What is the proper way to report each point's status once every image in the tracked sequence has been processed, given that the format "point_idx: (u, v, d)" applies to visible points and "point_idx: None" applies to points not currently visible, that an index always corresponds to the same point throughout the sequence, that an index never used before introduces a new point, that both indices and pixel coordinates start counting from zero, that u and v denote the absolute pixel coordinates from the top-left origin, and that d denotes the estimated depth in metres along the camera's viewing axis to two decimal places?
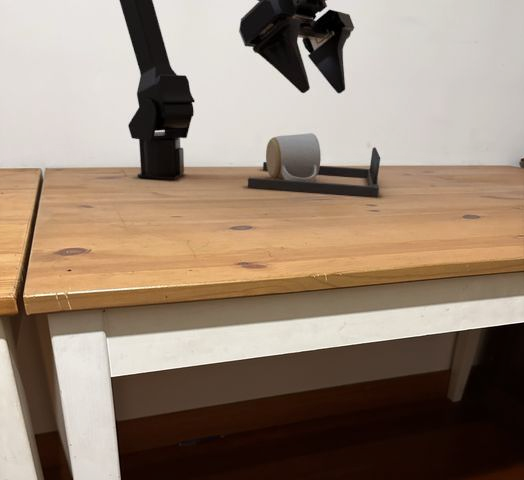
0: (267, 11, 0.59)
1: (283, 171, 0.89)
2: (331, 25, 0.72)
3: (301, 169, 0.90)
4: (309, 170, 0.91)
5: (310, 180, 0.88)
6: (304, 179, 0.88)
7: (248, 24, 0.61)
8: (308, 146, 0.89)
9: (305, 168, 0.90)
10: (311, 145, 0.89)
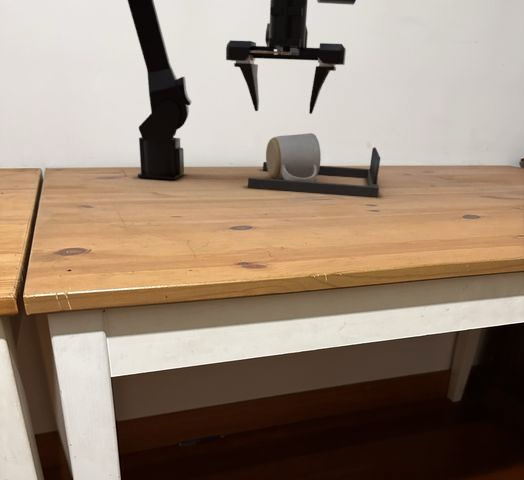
0: None
1: (283, 171, 0.89)
2: None
3: (301, 169, 0.90)
4: (309, 170, 0.91)
5: (310, 180, 0.88)
6: (304, 179, 0.88)
7: (344, 54, 0.81)
8: (308, 146, 0.89)
9: (305, 168, 0.90)
10: (311, 145, 0.89)
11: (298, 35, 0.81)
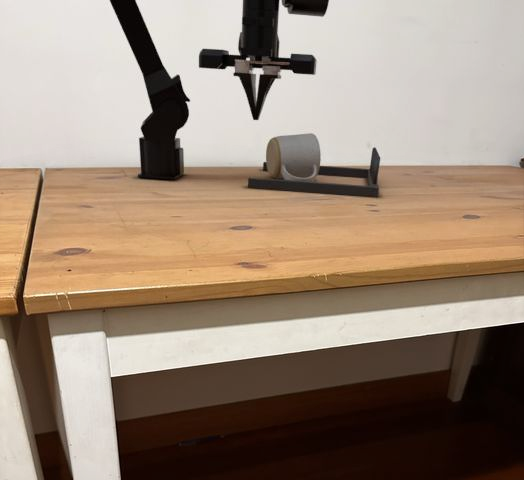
0: (315, 68, 0.86)
1: (283, 171, 0.89)
2: None
3: (301, 169, 0.90)
4: (309, 170, 0.91)
5: (310, 180, 0.88)
6: (304, 179, 0.88)
7: (315, 64, 0.83)
8: (308, 146, 0.89)
9: (305, 168, 0.90)
10: (311, 145, 0.89)
11: (270, 45, 0.82)
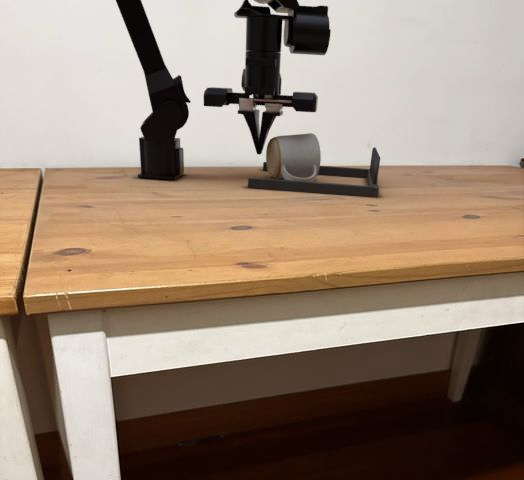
0: None
1: (283, 171, 0.89)
2: None
3: (301, 169, 0.90)
4: (309, 170, 0.91)
5: (310, 180, 0.88)
6: (304, 179, 0.88)
7: (316, 102, 0.86)
8: (308, 146, 0.89)
9: (305, 168, 0.90)
10: (311, 145, 0.89)
11: (272, 84, 0.85)
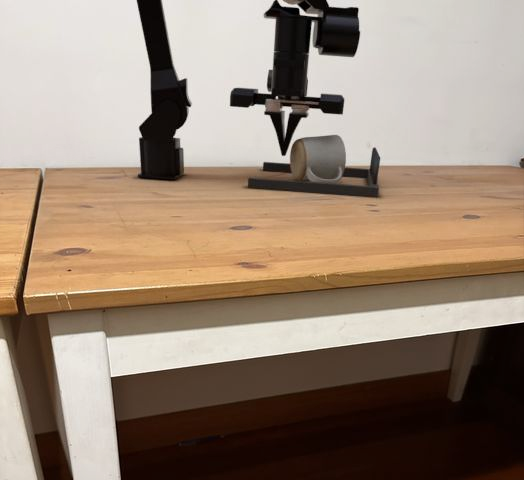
0: None
1: (308, 173, 0.88)
2: None
3: (326, 171, 0.90)
4: (334, 172, 0.90)
5: (336, 182, 0.88)
6: (330, 181, 0.87)
7: None
8: (334, 148, 0.89)
9: (330, 170, 0.90)
10: (336, 146, 0.89)
11: (300, 85, 0.84)
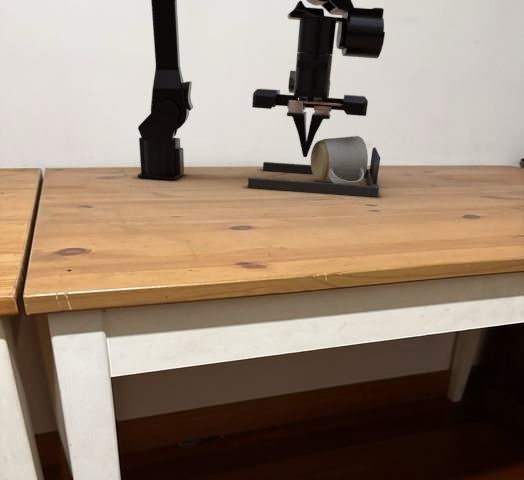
0: None
1: (331, 174, 0.88)
2: None
3: (348, 172, 0.90)
4: (356, 173, 0.90)
5: (358, 183, 0.88)
6: (353, 183, 0.87)
7: None
8: (356, 149, 0.88)
9: (352, 171, 0.90)
10: (358, 148, 0.89)
11: (323, 87, 0.84)
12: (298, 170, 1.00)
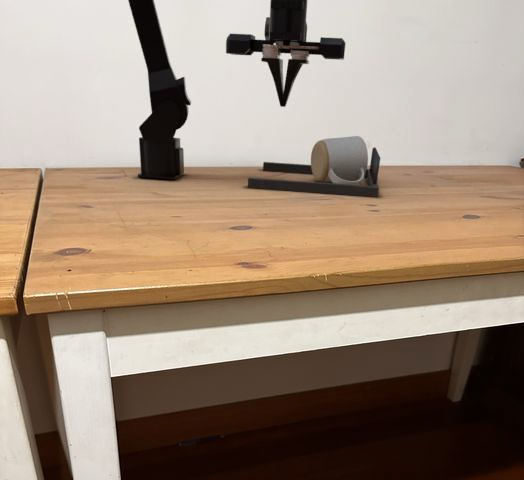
0: None
1: (331, 174, 0.88)
2: None
3: (348, 172, 0.90)
4: (356, 173, 0.90)
5: (358, 183, 0.88)
6: (353, 183, 0.87)
7: None
8: (356, 149, 0.88)
9: (352, 171, 0.90)
10: (358, 147, 0.89)
11: (299, 29, 0.81)
12: (298, 170, 1.00)
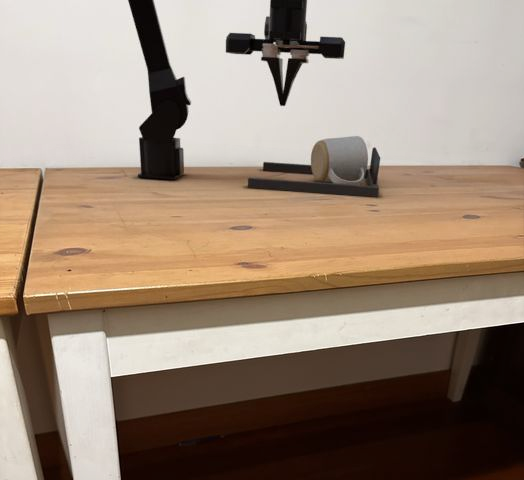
0: None
1: (331, 174, 0.88)
2: None
3: (348, 172, 0.90)
4: (356, 173, 0.90)
5: (358, 183, 0.88)
6: (353, 183, 0.87)
7: None
8: (356, 149, 0.88)
9: (352, 171, 0.90)
10: (358, 147, 0.89)
11: (298, 28, 0.81)
12: (298, 170, 1.00)
